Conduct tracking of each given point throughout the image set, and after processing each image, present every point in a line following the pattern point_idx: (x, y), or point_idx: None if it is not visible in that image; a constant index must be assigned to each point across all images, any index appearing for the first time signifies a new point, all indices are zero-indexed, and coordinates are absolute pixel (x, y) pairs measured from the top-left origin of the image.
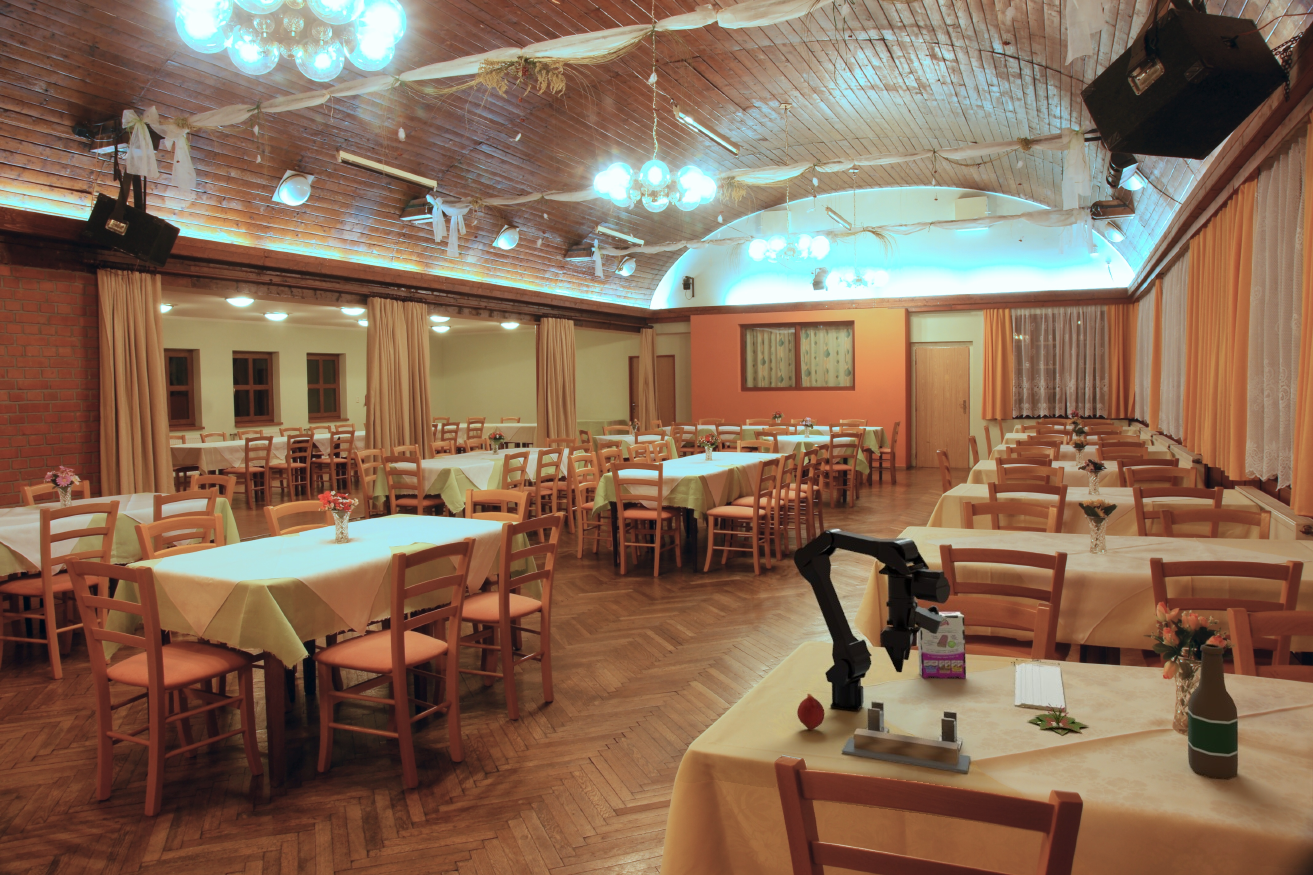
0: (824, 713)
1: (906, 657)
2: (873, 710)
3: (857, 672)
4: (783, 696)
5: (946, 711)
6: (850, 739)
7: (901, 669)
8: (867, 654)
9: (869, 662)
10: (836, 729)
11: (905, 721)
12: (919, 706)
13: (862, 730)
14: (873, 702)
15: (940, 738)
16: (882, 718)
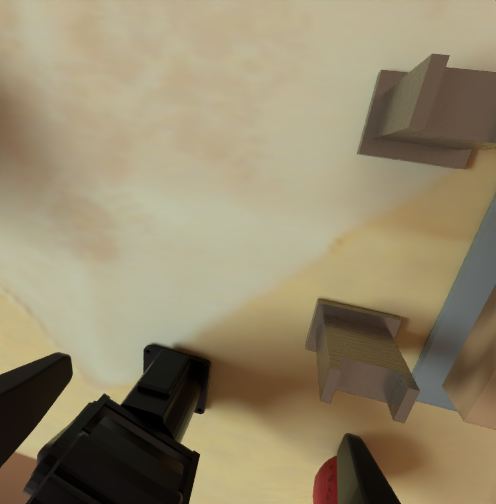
0: None
1: (57, 373)
2: (410, 403)
3: (167, 469)
4: None
5: (425, 114)
6: (420, 397)
7: (375, 462)
8: (62, 500)
9: (86, 450)
10: (333, 410)
11: (243, 252)
12: (121, 208)
13: (485, 410)
14: (332, 396)
15: (394, 153)
16: (350, 341)
